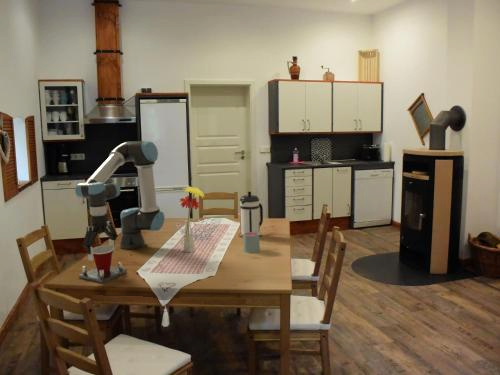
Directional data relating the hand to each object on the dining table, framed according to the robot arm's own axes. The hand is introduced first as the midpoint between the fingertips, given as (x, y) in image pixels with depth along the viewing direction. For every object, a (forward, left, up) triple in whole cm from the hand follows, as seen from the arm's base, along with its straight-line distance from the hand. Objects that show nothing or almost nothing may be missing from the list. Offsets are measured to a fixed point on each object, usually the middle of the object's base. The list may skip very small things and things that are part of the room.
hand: (102, 256), depth 210 cm
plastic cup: (-1, 0, -9) cm, 9 cm away
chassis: (0, 0, -10) cm, 10 cm away
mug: (-70, +47, -10) cm, 85 cm away
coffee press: (-96, +32, -10) cm, 102 cm away
